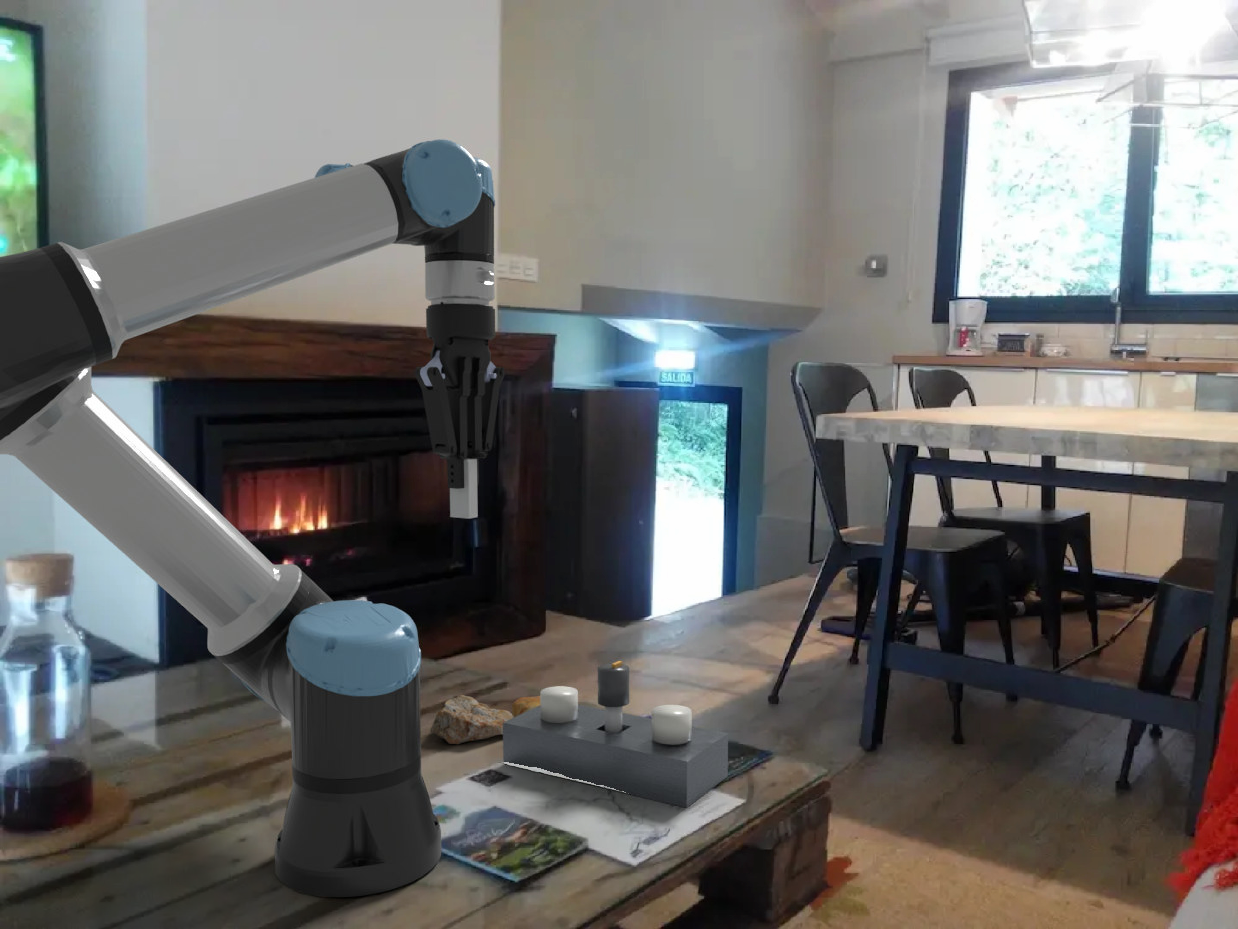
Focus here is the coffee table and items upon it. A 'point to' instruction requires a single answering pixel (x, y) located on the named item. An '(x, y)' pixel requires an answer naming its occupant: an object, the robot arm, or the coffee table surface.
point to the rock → (468, 720)
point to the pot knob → (613, 693)
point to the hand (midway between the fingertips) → (464, 516)
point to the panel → (619, 755)
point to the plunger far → (559, 704)
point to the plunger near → (671, 724)
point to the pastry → (524, 705)
